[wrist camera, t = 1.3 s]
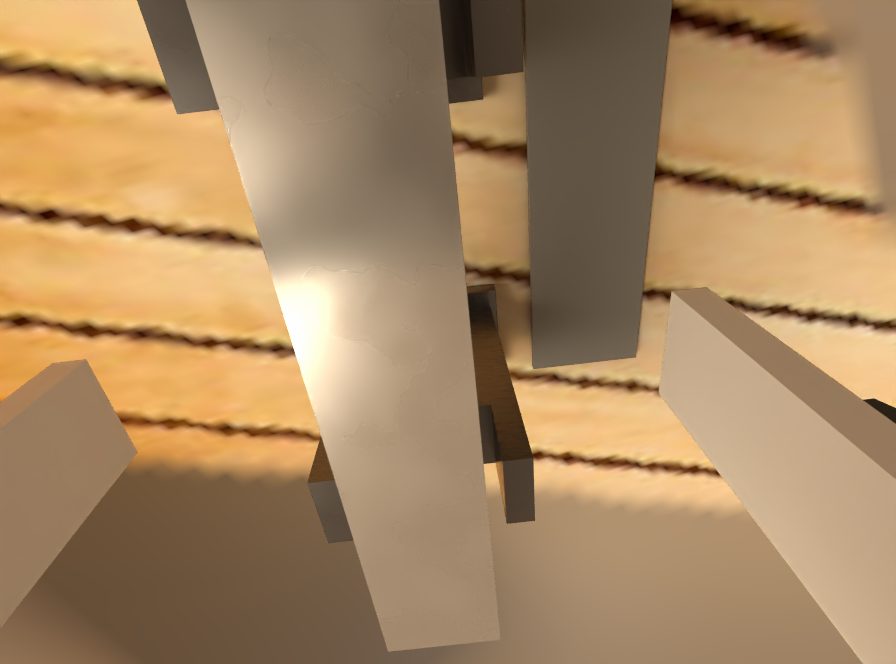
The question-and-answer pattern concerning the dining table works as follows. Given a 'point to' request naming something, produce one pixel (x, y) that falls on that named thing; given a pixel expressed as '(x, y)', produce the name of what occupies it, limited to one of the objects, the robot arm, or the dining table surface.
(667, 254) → the dining table surface
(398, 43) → the rail
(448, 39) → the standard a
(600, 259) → the plank
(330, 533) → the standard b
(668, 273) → the dining table surface
